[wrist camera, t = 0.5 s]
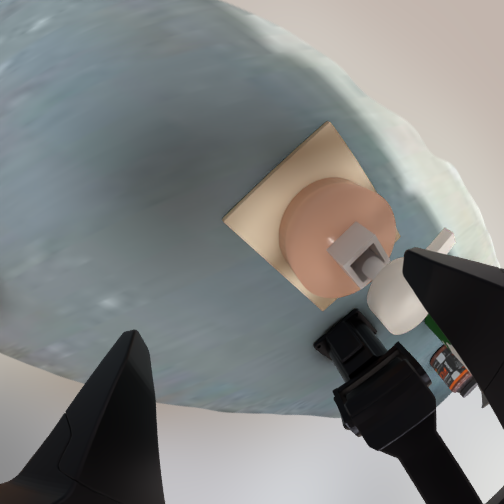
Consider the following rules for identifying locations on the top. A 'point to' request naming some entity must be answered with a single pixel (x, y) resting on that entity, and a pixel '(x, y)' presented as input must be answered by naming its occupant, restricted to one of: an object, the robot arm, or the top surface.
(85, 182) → the top surface
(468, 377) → the supplement bottle
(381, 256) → the soap jar
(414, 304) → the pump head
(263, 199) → the birch board
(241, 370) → the top surface
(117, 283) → the top surface
